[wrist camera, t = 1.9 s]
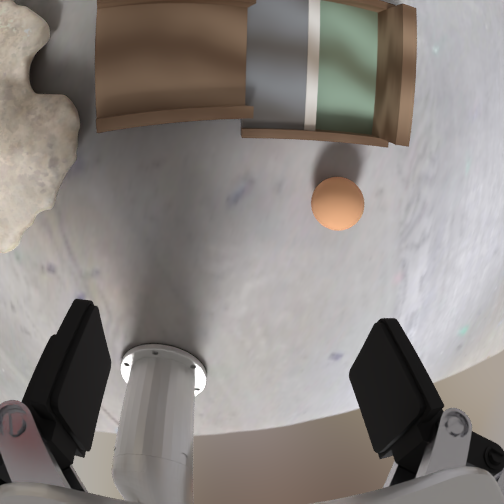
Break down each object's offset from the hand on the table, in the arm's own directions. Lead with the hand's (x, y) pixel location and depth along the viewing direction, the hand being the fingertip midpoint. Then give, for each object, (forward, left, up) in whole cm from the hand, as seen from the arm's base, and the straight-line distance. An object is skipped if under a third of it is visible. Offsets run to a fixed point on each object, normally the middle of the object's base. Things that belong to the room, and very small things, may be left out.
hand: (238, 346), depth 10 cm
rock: (+10, +27, -22) cm, 36 cm away
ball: (-2, -10, -21) cm, 23 cm away
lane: (+11, -1, -21) cm, 24 cm away
